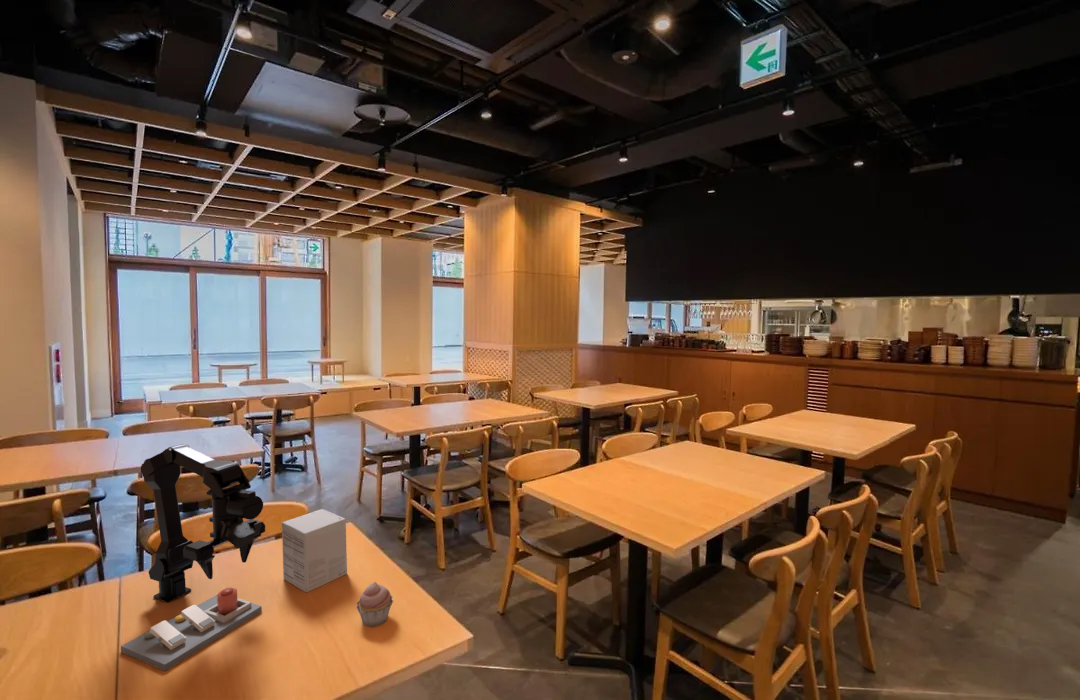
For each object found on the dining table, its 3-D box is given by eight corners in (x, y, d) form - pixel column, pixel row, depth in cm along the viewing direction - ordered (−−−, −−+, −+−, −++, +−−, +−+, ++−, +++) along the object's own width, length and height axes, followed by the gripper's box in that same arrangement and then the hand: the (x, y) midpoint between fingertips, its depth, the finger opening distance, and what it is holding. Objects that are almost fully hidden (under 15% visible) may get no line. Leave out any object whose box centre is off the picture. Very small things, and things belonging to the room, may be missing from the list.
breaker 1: (148, 632, 117) (149, 627, 117) (165, 623, 121) (166, 618, 121) (169, 651, 115) (170, 646, 114) (186, 640, 118) (187, 636, 118)
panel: (121, 652, 117) (120, 641, 117) (220, 598, 139) (220, 588, 139) (165, 671, 111) (164, 659, 111) (261, 611, 133) (261, 601, 133)
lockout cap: (214, 614, 129) (213, 593, 129) (230, 604, 133) (229, 584, 133) (225, 617, 128) (224, 596, 127) (241, 608, 132) (240, 588, 131)
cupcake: (401, 614, 132) (401, 577, 131) (376, 634, 124) (375, 596, 123) (374, 605, 136) (373, 570, 135) (348, 624, 128) (347, 587, 127)
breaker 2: (179, 615, 124) (180, 611, 124) (194, 607, 127) (195, 603, 127) (200, 633, 121) (201, 628, 121) (215, 624, 125) (216, 619, 124)
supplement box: (323, 561, 160) (322, 507, 159) (348, 573, 152) (346, 518, 151) (282, 578, 149) (280, 521, 148) (306, 593, 142) (304, 533, 140)
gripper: (210, 532, 118) (213, 595, 119) (279, 504, 135) (280, 560, 137) (180, 524, 123) (182, 585, 124) (250, 498, 140) (252, 552, 141)
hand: (227, 570), depth 131 cm, fingers open, 9 cm apart
